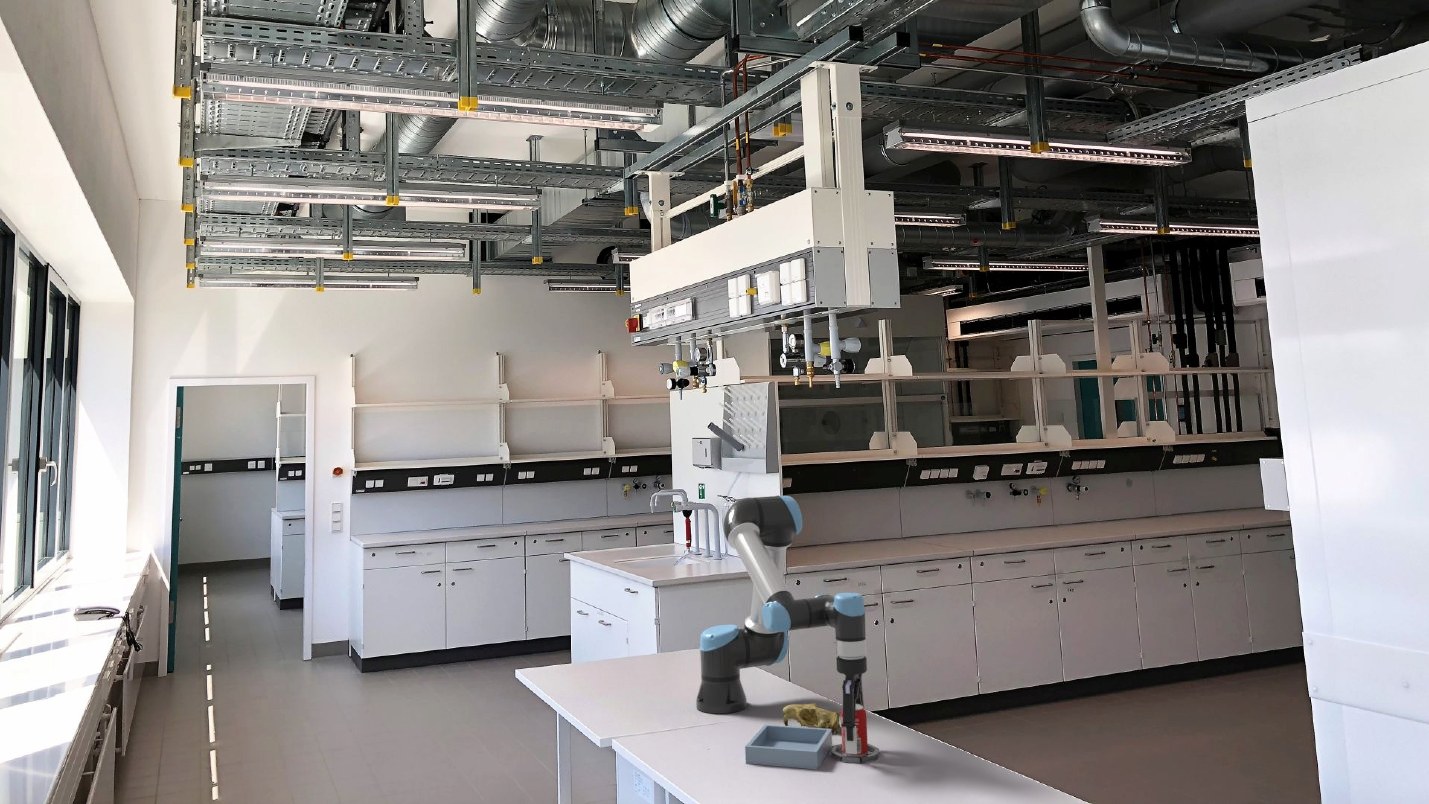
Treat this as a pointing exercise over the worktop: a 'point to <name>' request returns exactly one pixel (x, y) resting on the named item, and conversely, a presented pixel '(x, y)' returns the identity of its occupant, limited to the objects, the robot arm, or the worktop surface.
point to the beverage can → (857, 732)
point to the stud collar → (855, 759)
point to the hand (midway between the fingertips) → (854, 746)
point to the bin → (789, 746)
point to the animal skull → (812, 716)
